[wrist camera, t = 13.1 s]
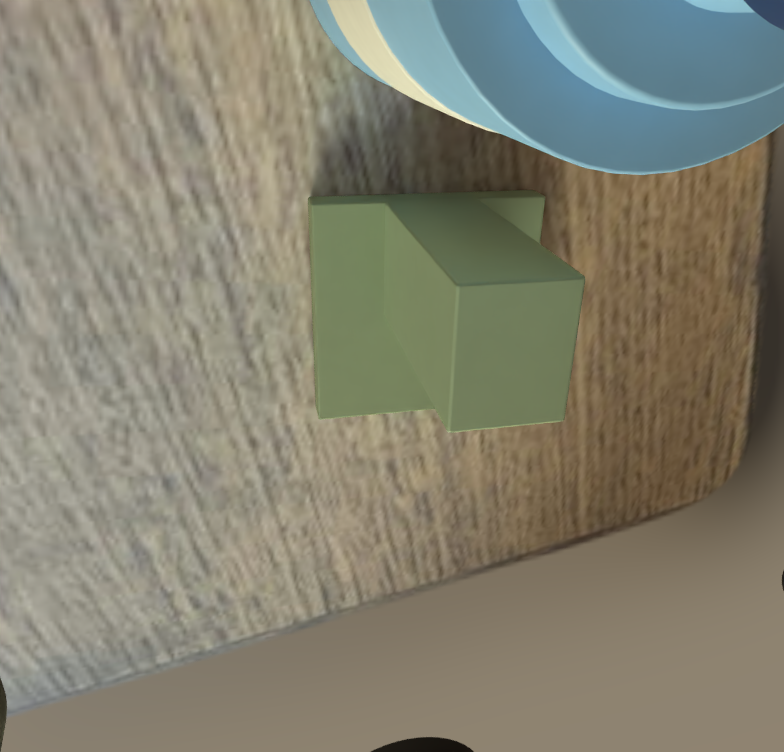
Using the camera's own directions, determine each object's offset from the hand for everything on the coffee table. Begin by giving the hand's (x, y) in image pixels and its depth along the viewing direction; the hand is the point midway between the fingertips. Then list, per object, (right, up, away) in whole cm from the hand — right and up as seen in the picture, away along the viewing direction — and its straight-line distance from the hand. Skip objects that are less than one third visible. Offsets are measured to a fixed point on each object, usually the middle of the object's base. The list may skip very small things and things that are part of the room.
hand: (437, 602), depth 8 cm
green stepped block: (0, +4, +12) cm, 13 cm away
